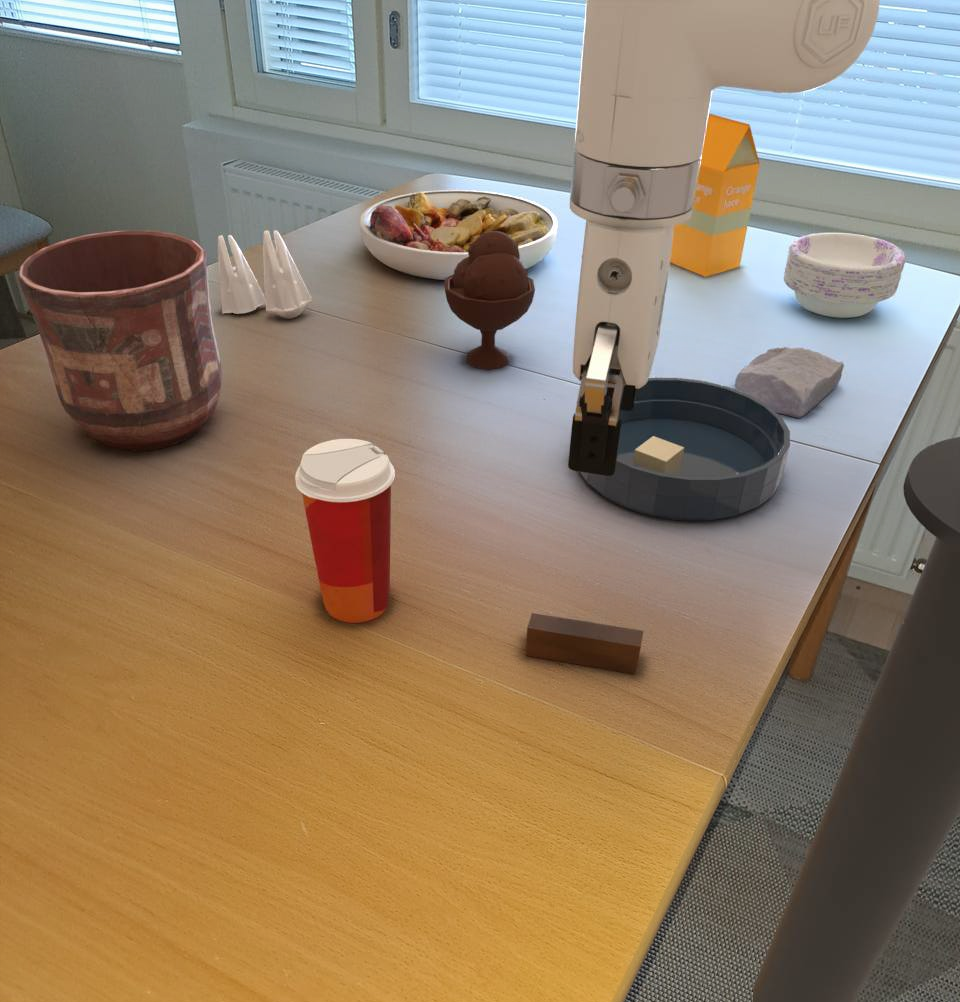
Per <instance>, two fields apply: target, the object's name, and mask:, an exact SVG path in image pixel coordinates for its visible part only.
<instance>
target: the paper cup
mask: <svg viewBox="0 0 960 1002" xmlns="http://www.w3.org/2000/svg"><path fill="white" fill-rule="evenodd" d="M384 453H385V451H383V450H382V449H380V447H378V446H377V445H374V444H373V443H372V442H371V441H367V440H363V439H358V438H338V439H330V440H327V441H322V442H320V443H318V444H315V445H313V446H312V447H310V448H308V449H307V450H306V451H305V452H304V453H303V455H302V456H301V461H300V464H299V466H298V468H297V469H296V472H295V474H294V480H295V487H296V489H297V491H299V492H300V493H301V496H302V502H303V507H304V511H305V516H306V522H307V527H308V533H309V538H310V542H311V548H312V552H313V558H314V564H315V568H316V571H317V572H316V573H317V578H318V582H319V587H320V593H321V597H322V602H323V605H324V609H325V611H326V612H327V614H328V615H329V616H330V617H332V618H333V619H335V620H337V621H340V622H343V623H350V624H359V623H365V622H366V623H367V622H369V621H373V620H375V619H377V618H378V617H380V616H381V615H382V614H383V613H385V611H386V610H387V609H388V607H389V603H390V589H391V587H390V586H391V531H392V530H391V529H392V528H391V525H392V524H391V523H392V519H391V518H392V484H393V482H394V480H395V477H396V470H395V467H394V465H393V464H392V462H391V461H390V459H389V456H388V454H384Z"/></svg>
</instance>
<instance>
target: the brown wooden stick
mask: <svg viewBox="0 0 960 1002" xmlns="http://www.w3.org/2000/svg"><path fill="white" fill-rule="evenodd" d="M643 636H644V630H642V629H640V630H639V629H635V628H628V627H623V626H617V625H610V624H604V623H598V622H592V621H587V620H579V619H574V618H569V617H568V618H567V617H561V616H555V615H549V614H544V613H537V612H531V615H530V618H529V622H528V624H527V628H526V641H525V642H526V644H525V656H527V657H534V658H539V659H543V660H544V659H545V660H550V661H556V662H561V663H562V662H563V663H568V664H573V665H580V666H585V667H590V668H591V667H592V668H597V669H601V670H603V669H604V670H607V671H615V672H622V673H626V674H632V675H636V674H637V672H638V671H637V670H638V665H639V660H640V654H641V647H642V643H643Z"/></svg>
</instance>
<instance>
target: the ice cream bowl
mask: <svg viewBox="0 0 960 1002" xmlns="http://www.w3.org/2000/svg"><path fill="white" fill-rule="evenodd" d="M468 255H469V257H467V258H465V259H463V260H462V261H461V262H459V263H458V264H457V266H456V268H455V270H454V274H453V275H451V276H449V277H447V278H445V280H444V293H445V297H446V302H447V305H448V307H449V308H450V311H451V312H452V313H453V314H454V315H455V316H456V317H457V318H458V319H459V320H460V321H462V322H463V323H465V324H467V325H468V326H470V327H472V328H473V329H476V330H478V331H479V332H480V334H481V342H480V345H479V346H476V347H474V348H473V349H471V350H469V351H468V352H467V353H466V363H467V364H468V365H470V366H472V367H473V368H475V369H480V370H481V369H483V370H487V371H488V370H495V369H502V368H503V367H505V366H506V365H508V364H510V356H509V354H508V352H507V351H505V350H503V349H501V348H500V347H498V346H496V334H497V333H498V331H501V330H503V329H505V328H507V327H509V326H511V325H512V324H515V322H517V321H519V320H520V319H521V318H522V317H523V316H524V315H526V313H527V312H528V311H529V309H530V307H531V305H532V304H533V301H534V297H535V294H536V293H535V292H536V286H535V281H534V279H533V278H532V277H530V276H529V275H528V274H529V273H528V269H525V268H524V266H523V264H522V262H521V261H520V260H519V259H520V254H519V250H518V244H517V243H516V242H515V241H514V240H513V239H512V238H511V237H510V236H508V235H507V234H505V233H502V232H498V231H491V232H487V233H482V234H481V235H480V236H479V237H478V238H477V239H476V240H475V241H474V242H473V243H471V245H470V247H469V250H468Z"/></svg>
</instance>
